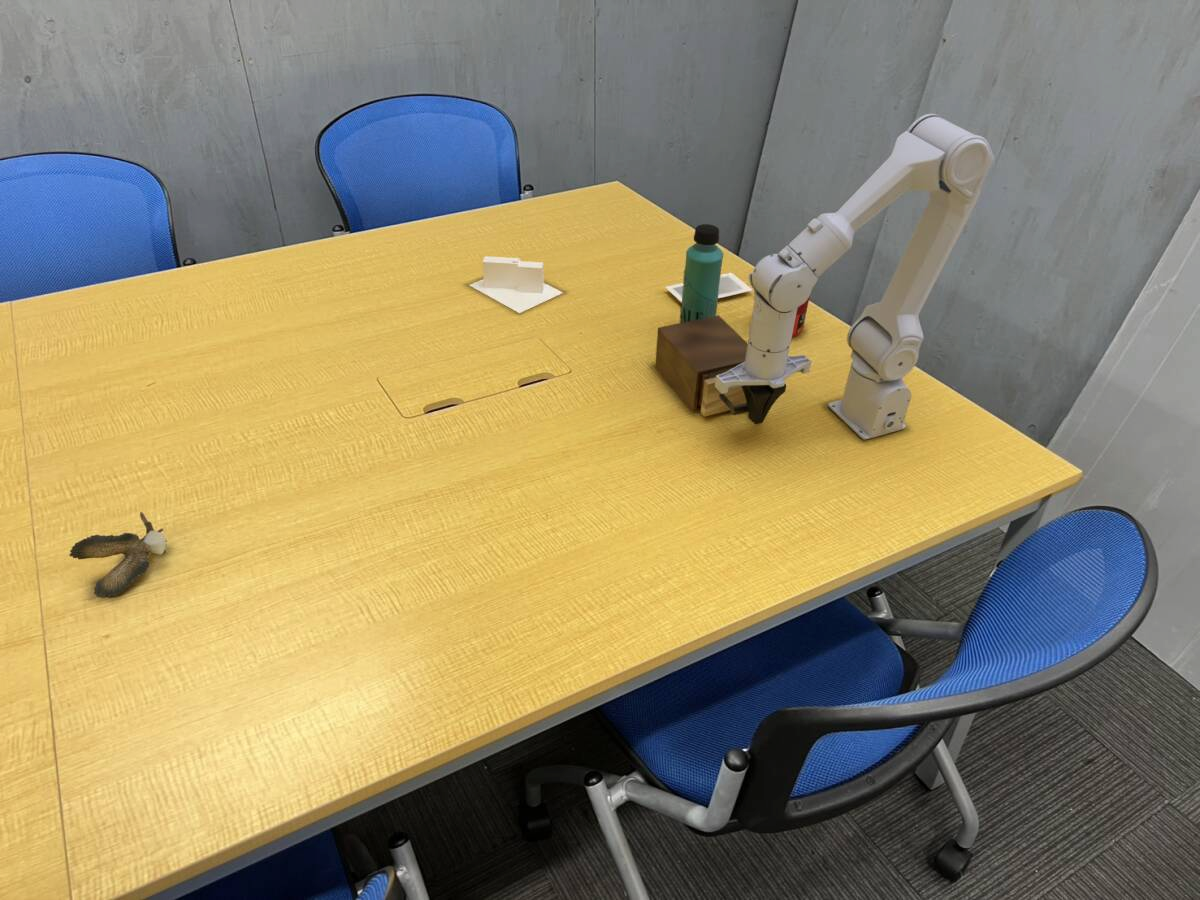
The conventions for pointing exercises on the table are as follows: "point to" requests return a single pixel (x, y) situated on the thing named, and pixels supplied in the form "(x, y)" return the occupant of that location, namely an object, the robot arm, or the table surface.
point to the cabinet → (696, 354)
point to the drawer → (720, 398)
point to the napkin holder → (515, 282)
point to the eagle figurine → (132, 556)
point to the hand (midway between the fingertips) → (755, 420)
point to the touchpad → (726, 287)
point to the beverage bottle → (701, 275)
